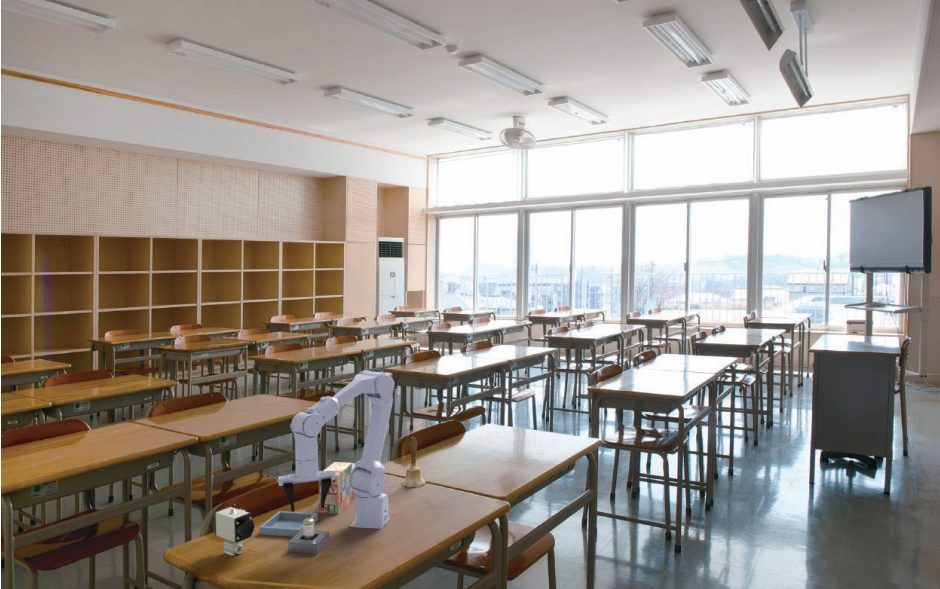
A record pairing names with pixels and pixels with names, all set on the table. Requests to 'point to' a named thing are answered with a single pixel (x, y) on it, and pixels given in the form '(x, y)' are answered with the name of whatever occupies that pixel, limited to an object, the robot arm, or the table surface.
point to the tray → (285, 523)
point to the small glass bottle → (308, 529)
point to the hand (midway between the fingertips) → (307, 508)
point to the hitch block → (308, 542)
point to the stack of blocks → (338, 489)
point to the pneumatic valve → (233, 528)
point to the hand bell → (413, 469)
